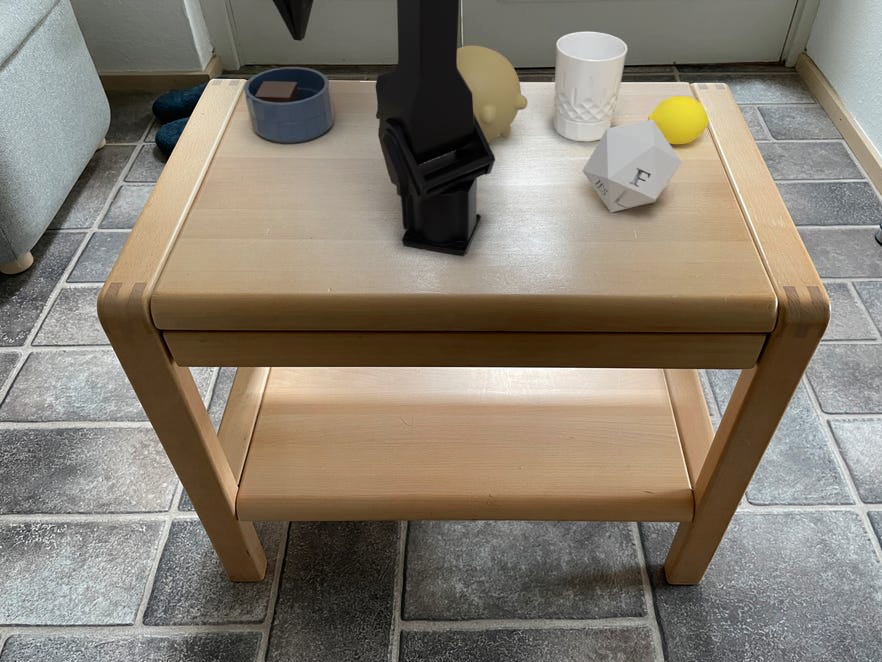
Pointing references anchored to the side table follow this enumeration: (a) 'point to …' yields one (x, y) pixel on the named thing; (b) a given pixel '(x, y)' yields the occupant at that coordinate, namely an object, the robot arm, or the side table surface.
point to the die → (631, 165)
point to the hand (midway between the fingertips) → (299, 39)
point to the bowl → (291, 106)
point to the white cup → (587, 83)
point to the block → (278, 92)
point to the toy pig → (491, 89)
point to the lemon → (680, 119)
